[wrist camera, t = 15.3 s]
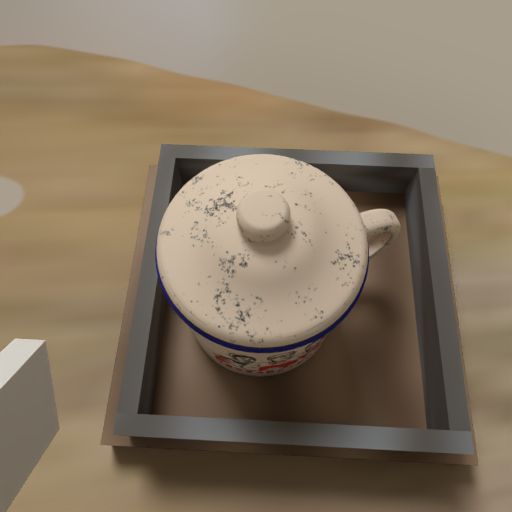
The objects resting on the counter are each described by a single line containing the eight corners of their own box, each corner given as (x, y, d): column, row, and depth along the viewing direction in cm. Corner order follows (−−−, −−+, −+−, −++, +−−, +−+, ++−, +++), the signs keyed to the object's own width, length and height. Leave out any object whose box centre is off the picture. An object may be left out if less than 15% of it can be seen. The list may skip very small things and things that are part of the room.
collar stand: (427, 191, 32) (456, 149, 27) (461, 464, 25) (508, 468, 20) (155, 180, 32) (139, 136, 28) (111, 444, 25) (79, 444, 20)
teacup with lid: (212, 406, 24) (177, 375, 13) (166, 263, 27) (110, 147, 17) (405, 331, 26) (512, 250, 15) (340, 206, 29) (389, 66, 18)
